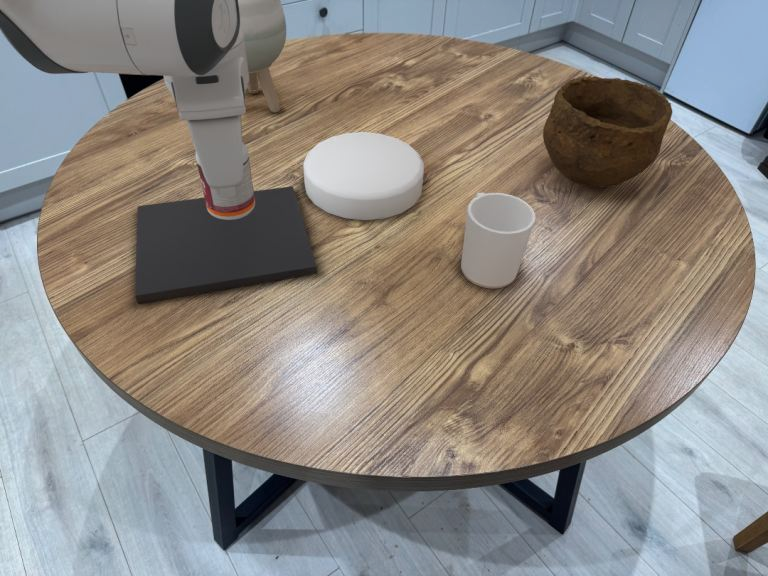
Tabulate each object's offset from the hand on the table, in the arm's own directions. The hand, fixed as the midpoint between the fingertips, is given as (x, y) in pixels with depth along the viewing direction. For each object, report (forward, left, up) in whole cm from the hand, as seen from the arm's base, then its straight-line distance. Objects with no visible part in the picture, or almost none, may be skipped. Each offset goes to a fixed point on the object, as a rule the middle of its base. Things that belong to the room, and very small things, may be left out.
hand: (225, 176), depth 70 cm
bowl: (+61, +9, -15) cm, 64 cm away
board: (-2, +6, -15) cm, 16 cm away
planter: (+7, +48, -15) cm, 51 cm away
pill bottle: (0, 0, -5) cm, 5 cm away
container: (+22, +16, -15) cm, 31 cm away
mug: (+34, -8, -15) cm, 38 cm away
